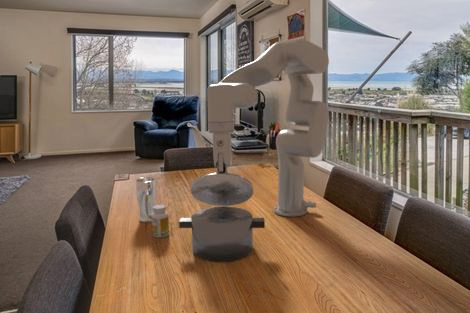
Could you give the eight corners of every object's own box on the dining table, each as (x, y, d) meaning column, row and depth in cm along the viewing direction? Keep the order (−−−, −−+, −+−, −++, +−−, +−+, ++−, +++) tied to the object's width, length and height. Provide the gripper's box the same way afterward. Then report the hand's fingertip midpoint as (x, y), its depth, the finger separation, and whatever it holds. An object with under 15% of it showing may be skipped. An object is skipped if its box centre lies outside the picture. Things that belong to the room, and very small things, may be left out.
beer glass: (138, 223, 132) (135, 182, 129) (137, 217, 139) (135, 178, 136) (158, 221, 134) (156, 181, 131) (156, 215, 141) (154, 176, 138)
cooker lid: (252, 205, 119) (252, 196, 121) (253, 176, 103) (253, 166, 105) (194, 206, 119) (195, 197, 121) (186, 176, 104) (187, 166, 106)
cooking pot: (262, 235, 120) (263, 206, 118) (265, 262, 103) (265, 228, 101) (186, 235, 121) (184, 206, 119) (175, 262, 104) (174, 228, 102)
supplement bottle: (170, 231, 125) (168, 203, 123) (168, 237, 120) (166, 209, 118) (154, 231, 125) (152, 204, 123) (151, 238, 120) (149, 209, 118)
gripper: (232, 130, 101) (234, 195, 105) (235, 124, 116) (236, 180, 120) (205, 130, 102) (207, 195, 105) (211, 124, 116) (212, 181, 120)
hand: (222, 187), depth 112 cm, fingers closed
